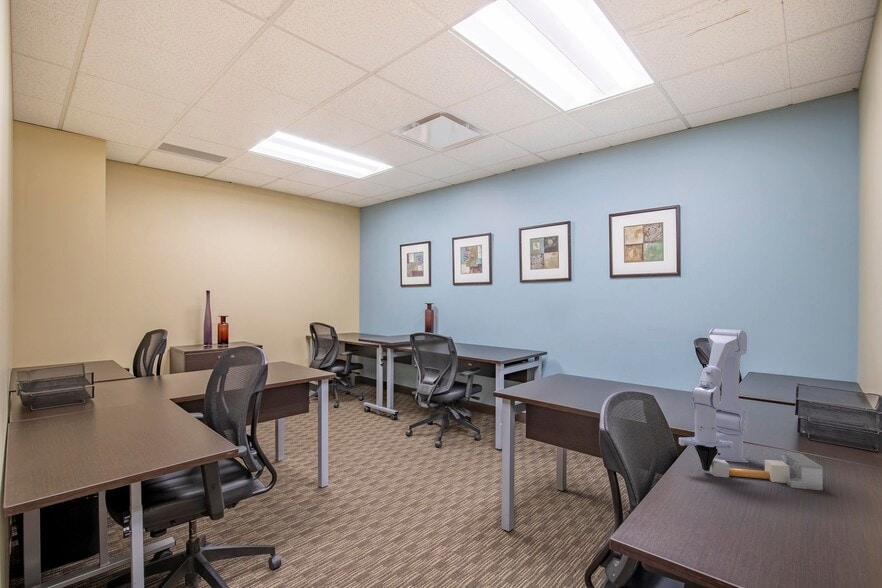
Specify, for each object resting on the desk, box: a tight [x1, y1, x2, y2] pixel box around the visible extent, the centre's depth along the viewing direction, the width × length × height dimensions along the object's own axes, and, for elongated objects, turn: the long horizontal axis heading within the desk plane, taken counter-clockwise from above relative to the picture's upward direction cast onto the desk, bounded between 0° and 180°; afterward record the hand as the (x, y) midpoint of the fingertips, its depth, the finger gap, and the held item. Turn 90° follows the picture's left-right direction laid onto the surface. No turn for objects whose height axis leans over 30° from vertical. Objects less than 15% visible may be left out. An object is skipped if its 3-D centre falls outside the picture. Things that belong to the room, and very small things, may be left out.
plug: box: [709, 458, 790, 484], centre depth 126 cm, size 20×4×5 cm, turn 76°
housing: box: [781, 451, 824, 491], centre depth 123 cm, size 8×10×7 cm
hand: (705, 469), depth 128 cm, fingers closed
